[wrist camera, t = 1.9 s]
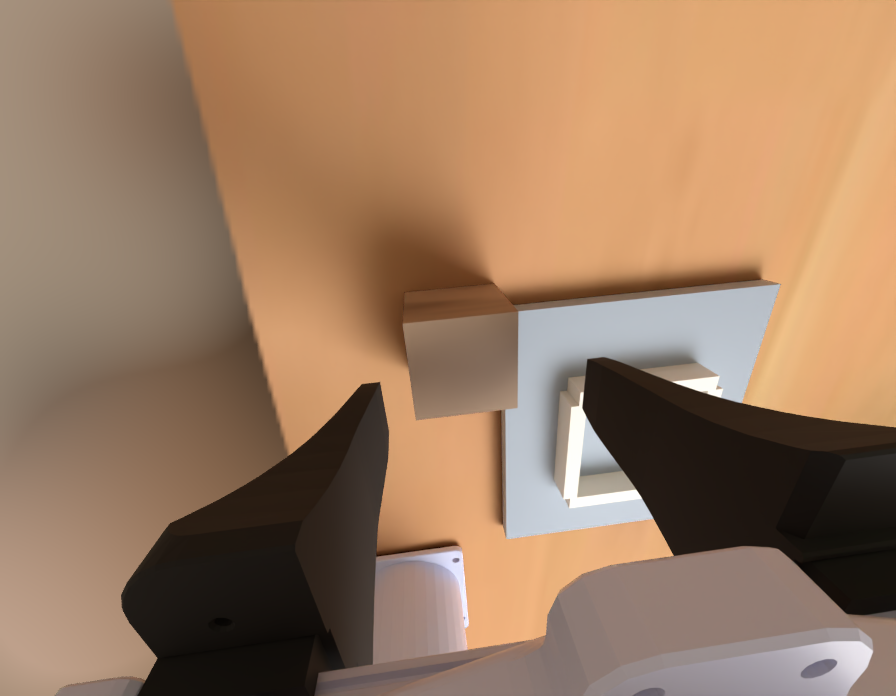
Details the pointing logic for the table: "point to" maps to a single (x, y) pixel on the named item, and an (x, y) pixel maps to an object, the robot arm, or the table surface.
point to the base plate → (563, 377)
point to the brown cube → (461, 350)
